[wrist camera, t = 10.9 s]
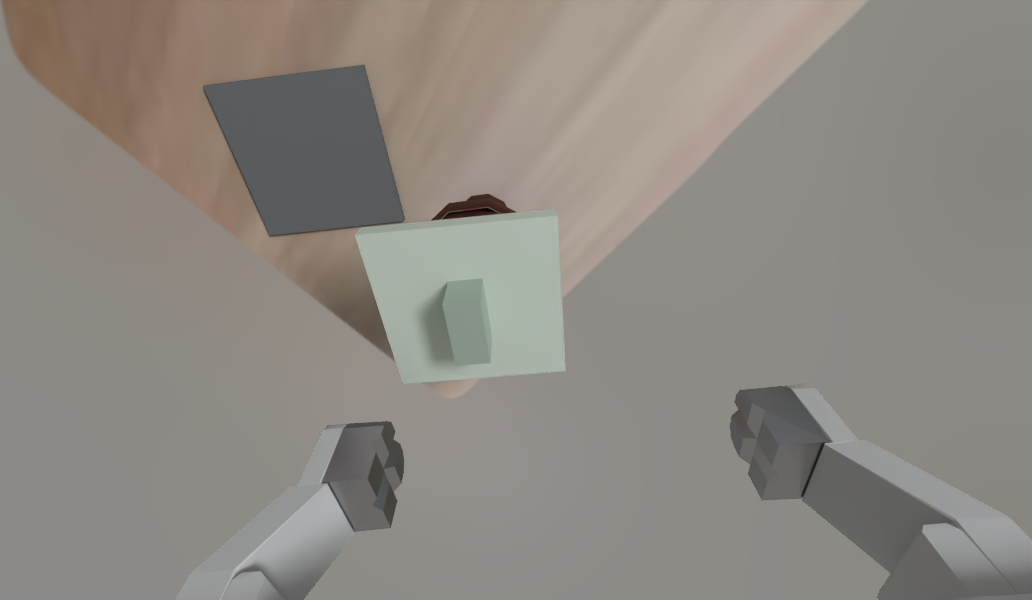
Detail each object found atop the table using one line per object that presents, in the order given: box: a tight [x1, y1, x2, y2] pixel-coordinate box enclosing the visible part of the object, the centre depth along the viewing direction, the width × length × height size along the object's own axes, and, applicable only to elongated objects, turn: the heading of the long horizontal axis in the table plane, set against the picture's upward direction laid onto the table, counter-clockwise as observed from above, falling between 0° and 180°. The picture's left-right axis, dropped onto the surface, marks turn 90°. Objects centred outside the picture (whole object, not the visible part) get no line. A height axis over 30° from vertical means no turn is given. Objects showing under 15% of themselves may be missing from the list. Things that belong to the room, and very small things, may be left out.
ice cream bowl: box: [431, 194, 516, 221], centre depth 39 cm, size 11×11×15 cm
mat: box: [203, 65, 405, 236], centre depth 41 cm, size 14×14×1 cm
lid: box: [355, 209, 565, 384], centre depth 31 cm, size 13×13×4 cm
